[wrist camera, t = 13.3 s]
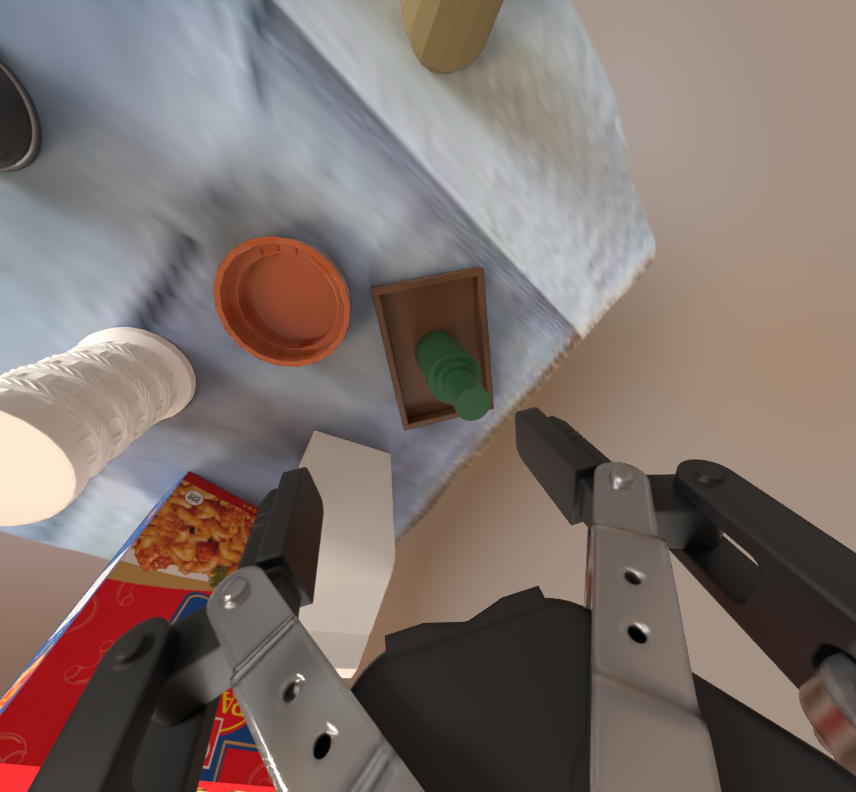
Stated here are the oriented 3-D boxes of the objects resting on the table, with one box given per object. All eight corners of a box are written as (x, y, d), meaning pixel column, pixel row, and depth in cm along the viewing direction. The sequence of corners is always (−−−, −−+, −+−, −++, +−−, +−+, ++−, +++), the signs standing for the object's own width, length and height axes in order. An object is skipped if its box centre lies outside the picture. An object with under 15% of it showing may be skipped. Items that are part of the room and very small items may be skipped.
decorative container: (186, 330, 36) (50, 395, 21) (203, 417, 41) (102, 525, 25) (64, 322, 34) (-200, 388, 18) (97, 416, 39) (-90, 534, 23)
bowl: (210, 249, 34) (187, 250, 29) (333, 228, 35) (328, 225, 30) (259, 363, 40) (247, 377, 35) (362, 341, 41) (363, 352, 36)
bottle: (411, 335, 41) (437, 382, 27) (455, 326, 42) (502, 367, 28) (419, 376, 44) (446, 439, 30) (459, 367, 44) (505, 424, 30)
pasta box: (341, 551, 56) (325, 791, 31) (311, 576, 57) (273, 826, 33) (188, 471, 44) (-35, 759, 19) (155, 505, 45) (-95, 817, 21)
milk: (390, 453, 49) (415, 635, 26) (361, 506, 53) (361, 709, 30) (314, 430, 45) (264, 622, 22) (288, 489, 48) (222, 709, 25)
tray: (370, 286, 38) (371, 289, 36) (476, 266, 40) (483, 267, 37) (402, 421, 47) (404, 430, 45) (487, 401, 48) (493, 408, 46)
